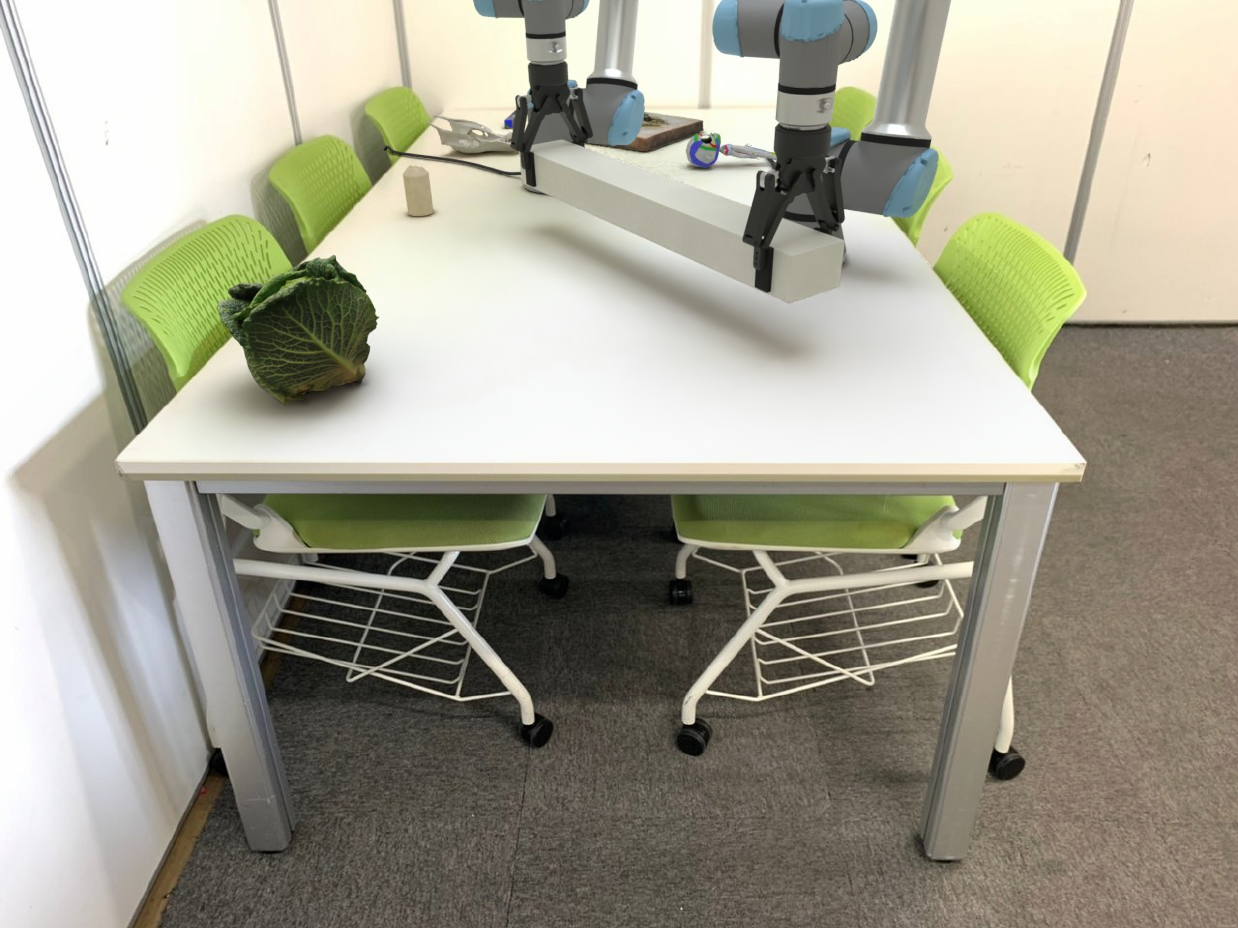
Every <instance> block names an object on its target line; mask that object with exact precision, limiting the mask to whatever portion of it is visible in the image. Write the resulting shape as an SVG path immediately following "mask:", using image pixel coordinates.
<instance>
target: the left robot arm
mask: <svg viewBox="0 0 1238 928" xmlns="http://www.w3.org/2000/svg"><path fill="white" fill-rule="evenodd" d="M590 1H591V0H472V2H473V6H474V9H475V10H476V12H477V13H478V15H480V16H481V17H484V18H485V17H486V18H495V19H499V18H500V19H524V28H525V46H526V47H525V48H526V58H527V60H528V61H529V63H528V64H527V75H528V83H529V89H528V90H527V93H526V94H523V95H520V94H517V95H515V97H514V102H515V110H516V114H515V120H514V126H513V127H512V128H513V130H512V131H511V132H512V138H511V144H510V147H511V149H513V150H516V151H515V152H518V153H519V152H520V156H521V166H522V168H523V169H525V172H526V184H527V185H529V186H527V185H525V184H524V188H525V189H526V190H527V191H530V192H531V193H535V194H536V193H537V194H543V195H544V194H545V193H543V192H541V191H539V190H536V189H534V188H532V187H536V175H535V162H534V153H533V152H531V151H530V150H531V147H532V145H535V144H540V143H546V142H551V141H556V140H565V141H568V142H571V143H574V144H576V145H579V146H582V147H585V148H586V144H592V143H594V144H593V145H598V144H609V145H612V146H615V145H628V144H631V143H632V142H633V141H634V140H635V139H636V137H637V136H638V134H639V132H640V129H641V126H642V122H643V118H644V112H646V111H645V108H646V106H645V100H646V99H645V96H644V94H643V92H642V91H640V90H639V89H638V88H639V87H638V86H639V82H638V81H637V80H636V79H635V78H634V76H633V68H634V60H635V59H634V58H635V46H636V35H637V24H638V13H639V4H640V0H599V3H598V4H599V7H598V16H597V28H596V29H597V30H596V39H595V40H596V42H595V52H594V53H595V54H594V65H593V66H594V67H593V71H592V72H591V73H590V74H589V75H588V76H587V77H586V81H585V87H579V84H578V82H577V81H576V80H575V79H569V66H568V62H567V61H565V60H566V59H567V58H568V49H567V47H568V46H567V31H566V30H567V29H566V27H567V26H566V25H567V24H566V21H567V20H570V19H575V18H577V17H579V16H580V15H581V14H582V13H584V12H585V11H586V10H587V8H588V6H589V4H590ZM383 151H384V152H386V151H389V152H391V153H392V154H394V155H399V156H407V157H412V158H420V159H429V160H436V161H444V162H450V163H457V164H463V165H467V166H473V167H476V168H479V169H484V170H487V171H491V172H494V173H497V174H501V175H506V176H521V171H505V170H502V169H498V168H495V167H492V166H487V165H485V164H480V163H476V162H472V161H468V160H462V159H457V158H456V159H455V158H451V157H443V156H436V155H429V154H420V153H419V154H418V153H414V152H413V153H412V152H406V151H405V152H404V151H399V150H395V149H394V148H392V147H391V146H390V145H385V146H384V148H383ZM520 156H519V157H520ZM530 186H532V187H530ZM545 195H546V194H545Z"/></svg>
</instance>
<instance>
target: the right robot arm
mask: <svg viewBox="0 0 1238 928" xmlns="http://www.w3.org/2000/svg"><path fill="white" fill-rule="evenodd" d="M951 3H952V0H894V6H893V10H892V16H891V22H890V27H889V33H888V37H887V43H886V48H885V54H884V58H883V59H884V60H883V65H882V69H881V76H880V81H879V85H878V86H879V87H878V91H877V95H876V102H875V107H874V112H873V119H872V121H871V122H870V123H869V124H867V125H866V126H865V127H863V128H862V130H861V134H860V138H859V140H855V139H851V138H852V133H851V130H850V129H848V128H844V127H839V126H837V127H835V126H831V124H829V123H831V122H832V121H833V116H834V107H835V97H836V89H837V79H838V71H839V66H840V65H843V64H846V63H850V62H852V61H855V60H856V59H859V57H861V56H862V55H863V54H865V53H866V52H867V51H868V50H869V49H870V48H871V47H872V45H873V44H874V42H875V40H876V39H877V38H876V37H877V33H878V27H879V26H878V18H877V15H876V12H875V11H874V8H872V6H871V5H870V4H869V3H867V2H866V1H864V0H721V1H720V2H719V3H718V4H717V6H716V8H715V10H714V14H713V18H712V26H711V32H712V37H713V43H714V46H715V48H716V49H717V51H718V52H720V53H721V54H724V55H728V56H736V57H737V56H738V57H739V58H758V59H761V58H762V59H771V60H772V59H773V60H774V59H775V60H779V64H778V65H779V66H778V82H777V92H776V93H777V94H776V105H775V106H776V107H775V121H776V122H777V124H776V126H774V136H773V137H774V138H773V152H774V153H775V154H776V157H777V161H776V160H773V159H770V158H766V159H768V161H769V162H770V164H771V166H772V169H771V170H768V171H764V170H761V169H760V170H758V171H756V176H755V180H756V182H755V189H754V190H755V191H754V194H753V198H752V202H751V206H750V207H751V209H750V213H749V216H748V220H747V224H746V227H745V231H744V235H743V238H742V241H743V242H744V243H746V244H748V245H751V246H753V247H754V255H753V267H754V268H755V269H756V270H755V286H754V287H755V288H757V289H760V290H762V291H764V292H766V293H768V292H771V282H772V268H773V254H774V248H773V247H770V244H771V241H772V239H773V237H774V235H775V233H776V231H777V229H778V226H779V224H780V222H781V220H782V218H783V219H786V220H789V221H792V222H794V223H797V224H800V225H803V226H806V227H808V228H811V229H814V230H817V231H820V232H822V233H825V234H828V235H831V236H834V237H836V238H839V239H842V240H845V235H844V231H843V227H842V224H843V223H844V222H845V220H846V215H845V210H846V211H852V212H859V213H865V214H872V215H878V216H882V217H884V218H888V217H891V218H901V219H907V218H910V217H913V216H914V215H915V214H916V213H918V212H919V210H920V209H921V208H922V206H923V205H924V203H925V202H926V200H927V198H928V196H929V193H930V191H931V189H932V186H933V184H934V181H935V178H936V175H937V171H938V167H939V159H940V156H939V152H938V151H937V150H936V149H934V148H933V147H931V145H932V139H933V136H932V134H931V133H930V132H929V130H928V129H927V127H926V124H927V123H926V122H927V117H928V114H929V107H930V103H931V99H932V93H933V89H934V83H935V80H936V79H935V78H936V76H937V75H936V74H937V69H938V64H939V60H940V55H941V51H942V46H943V42H944V36H945V31H946V27H947V22H948V17H949V12H950V8H951ZM763 236H764V239H762V237H763ZM846 257H847V246H846V241H845V242H844V252H843V261H842V265H844V263H845V262H846ZM755 288H754V289H755ZM757 289H756V290H757ZM764 292H763V293H764ZM766 293H765V294H766Z"/></svg>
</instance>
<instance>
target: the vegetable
mask: <svg viewBox="0 0 1238 928" xmlns="http://www.w3.org/2000/svg"><path fill="white" fill-rule="evenodd" d="M227 294H228V295H230V296H231V298H228V299H223V300H220V301H219V302H218V303H217V306H216V307H217V308H219V311H218V312H217V314H218V316H219V318H220V321H221V323H223V324H224V326H225V328H226V329H227V330H228V332H229V334H230V335H231V336H232V338H233V339H234V340H235V341H237V343H238V344H239V346H240V347H242V349H243V354H244V358H245V360H246V365H247V368H248V371H249V372H250V374H251V376H252V378H253V380H254V382H255V383H256V384H257V385H258V386H259V387H260V388H261V389H262V390H264V391H265V392H267V394H270V395H271V396H272V397H274V398H275V399H276V400H277V401H279V402H280V403H282V404H283V405H288V404H290V402H291V401H296V400H298V401H299V400H303V401H304V400H306V397H305V396H304V395H305V394H306V393H309V392H313V391H314V392H315V391H316V392H325V391H326V390H327V389H328V390H329V389H330V388H331V387H337V386H338V387H339V386H342V385H346V384H349V383H350V385H353V384H362V383H363V380H364V378H365V376H366V366H365V363H366V362H367V361H368V358H369V355H370V353H371V345H370V344H368V340H369V336H370V334H371V333H372V332H373V331H375V330H376V329H377V326H378V321H377V320H378V319H380V316H378V315H377V314H376V312H377V309H376V308H375V305H374V303H373V300H372V299H371V298H370V295H369V294H367V290H366V289H365V287H364V285H363V284H362V283H361V282H360V281H359V280H358V277H357V275H356V274H355V273H352V272H349V271H347V270H346V269H345V268H344V267H343V266H342V265H341V264H340V263H339V262H338V260H337V254H336V255H335V254H332V255H331V256H329V257H327V258H320V256H318V257H315V258H313V259H311V260H306V261H304V262H302V263H299V264H297V265H296V266H293V267H292V268H290V269H289V270H288V271H287V272H283V273H282V272H281V273H277V274H274V275H272V276H270V277H269V278H268V279H267V280H266V281H265V283H257V282H251V283H249V282H240V283H237V284H236V285H234V286H232V287H229V288H228V290H227Z"/></svg>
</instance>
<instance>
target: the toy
mask: <svg viewBox="0 0 1238 928" xmlns="http://www.w3.org/2000/svg"><path fill="white" fill-rule="evenodd" d="M704 136H707V137H704ZM721 139H722V137H721V135H720V134H719V133H717V132H713V133H712V132H710V133H696V134H694V135H692V136H691V137H690V139H689V141H688V142H687V145H686V148H685V154H686V159H687V161H688V163H690V164H691V165H692V166H695V167H698V168H709V167H711V166H714V164H715V163H716V162H717V161H718V158H719V154H722V155H724V156H725V157H730V156H731V157H734V158H736V159H737V158H738V159H751V160H755V159H756V160H760V159H762V158H763V159H767V158H770V159H773V161H775V162H776V161H777V157H776V154H775V152H774V151H768V150H766V149H763V148H757V147H754V146H752V145H749V143H746V144H745V145H737V144H732V143H726V144H722V140H721ZM721 144H722V145H721Z"/></svg>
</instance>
